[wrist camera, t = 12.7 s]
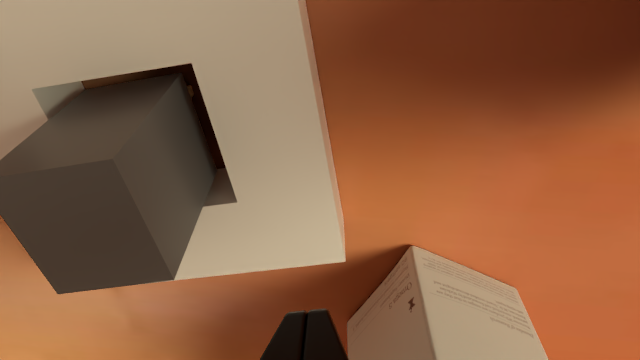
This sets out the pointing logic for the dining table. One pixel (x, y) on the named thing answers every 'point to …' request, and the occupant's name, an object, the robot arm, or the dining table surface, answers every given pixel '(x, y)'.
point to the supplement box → (441, 316)
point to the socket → (221, 103)
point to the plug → (110, 185)
